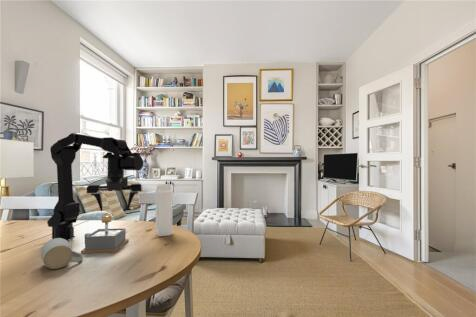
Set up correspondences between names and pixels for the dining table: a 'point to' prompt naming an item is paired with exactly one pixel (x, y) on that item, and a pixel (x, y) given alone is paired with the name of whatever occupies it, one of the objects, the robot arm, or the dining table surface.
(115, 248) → the grey square tray
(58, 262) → the ceramic mug
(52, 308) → the dining table surface
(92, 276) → the dining table surface
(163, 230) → the milk
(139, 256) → the dining table surface
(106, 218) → the plunger
